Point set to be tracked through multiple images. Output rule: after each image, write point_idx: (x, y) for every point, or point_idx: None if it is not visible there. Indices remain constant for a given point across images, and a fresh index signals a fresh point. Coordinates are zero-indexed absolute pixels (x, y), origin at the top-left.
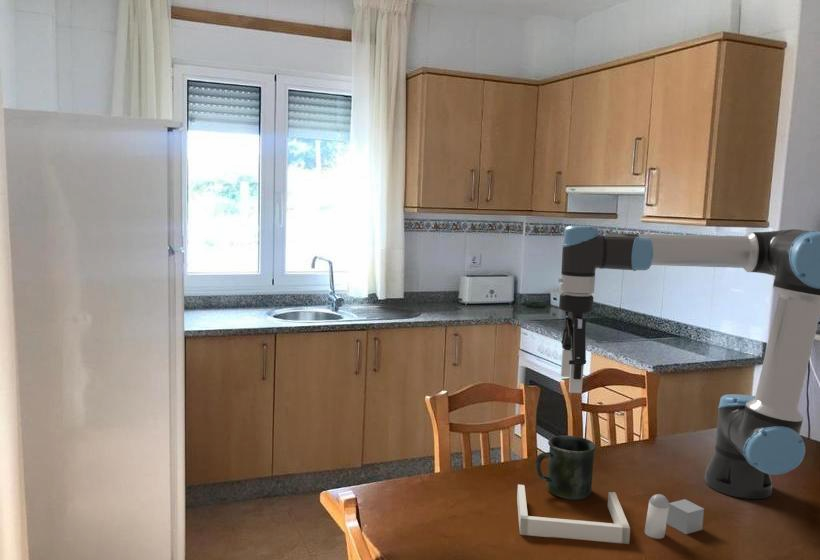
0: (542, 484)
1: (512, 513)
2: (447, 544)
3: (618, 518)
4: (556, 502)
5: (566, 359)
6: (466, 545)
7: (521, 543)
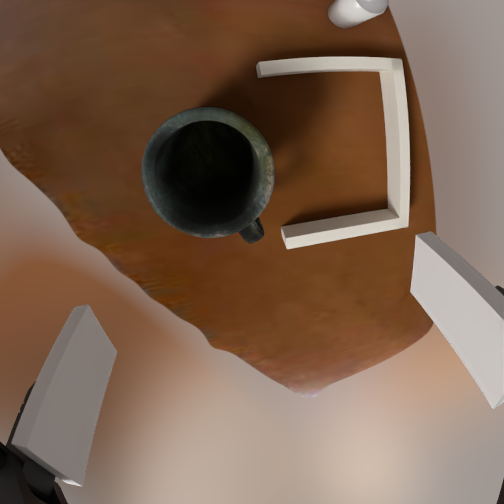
0: None
1: None
2: None
3: (369, 69)
4: None
5: (77, 419)
6: None
7: (415, 212)
